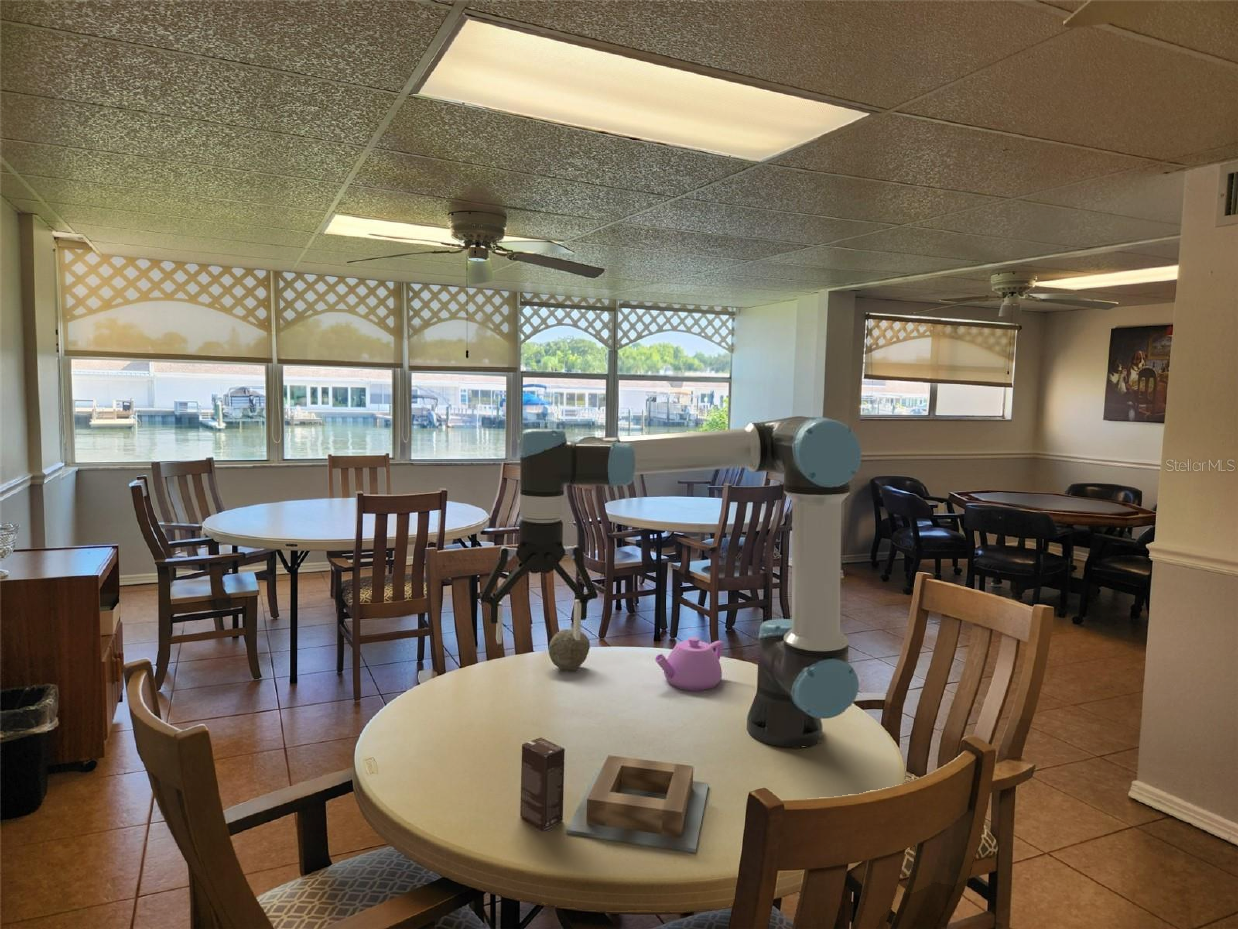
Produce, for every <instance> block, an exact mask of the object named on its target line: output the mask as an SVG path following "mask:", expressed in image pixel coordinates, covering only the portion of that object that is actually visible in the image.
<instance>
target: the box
mask: <svg viewBox="0 0 1238 929" xmlns="http://www.w3.org/2000/svg"><path fill="white" fill-rule="evenodd" d="M565 750H566V748H564V747H562V746H561V745H557V744H556V743H554V742H552V741H549V740H547V739H545V738H543V737H538V738H535V739H533V740H530V741H527V742H525V743H522V744H521V773H520V774H521V776H520V807H519V812H520V813H519V814H520V815H519V816H520V817H521V818H522V819H525V820H527V821H528V822H529V823H531V824H532V825H535V826H537V827H538V828H540V829H541V830H543V831H547V830H549V829H551V828H553V827H554V826H556V825H557V824H559V823H561V822H562V821H564V794H565V791H564V789H565V786H564V784H565V782H564V781H565Z"/></svg>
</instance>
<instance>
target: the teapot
mask: <svg viewBox="0 0 1238 929" xmlns="http://www.w3.org/2000/svg"><path fill="white" fill-rule="evenodd" d="M714 649H715V650H714ZM723 651H724V641H722V640H716V641H713V642H711V643H710V644H709V643H708V642H705V641H701V638H699V637H695V636H693V637H692V636H691V637H688V639H687V640H682V641H681V640H680V641H679V642H678V643H677V644H676V645H675V646H674V647H673V648H672V650H671V652H670V653H669V655H668V656H667V658H666V656H665V655H664V654H663V653H660V654H658V655H657V656H655V659H654V660H655V662H656V663H657V664H658V665H659V667H660V668H661V669H662V670H663V674H664V675H663V676H664V678H666V680H667V681H668V682H669V684H671V685H672V686H673V687H674V688H677V689H681V690H686V691H694V692H695V691H706V690H711V689H713V688H715V686H717V685H718V684H719V683H720V681H721V679H722V677H723V671H722V665H721V663H720V659H721V657H722V654H723Z"/></svg>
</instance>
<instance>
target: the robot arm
mask: <svg viewBox="0 0 1238 929" xmlns="http://www.w3.org/2000/svg"><path fill="white" fill-rule="evenodd" d="M567 439H568V438H567V437H566V432H565V431H564V430H563V429H557V428H555V429H554V428H552V429H551V428H528V429H525V431H524V432H522V435H521V445H520V446H521V448H520V463H519V466H520V469H519V471H520V472H519V476H520V478H519V481H520V482H519V516H520V517H521V519H520V520H519V522H518V524H519V525H518V545H517V547H516V548H515V547H507V546H506V545H501V546H500V547H499V552H498V559H497V561H496V562H495V564H494V567H493V568H492V570H491V572H490V574H489V576H488V577H487V580H486V581H485V584H484V586H483V587H482V589H481V592H480V593H479V598H480V602H482V603H485V604H486V603H487V604H489V620H490V622H491V624H495V626H496V628H495V629H496V630H495V639H496V644H497V645H500V644H502V643H503V642H502V641H503V603H502V602H501V601H502V600H503V599H504V597H505V596H507V594H508V593H509V592H510V591H511V590H512V588H513V587H514V586H515V585H516V584H517V583H518V581H519V580H520V579H521V578H522V577H523V576H525V574H526V573H527V572H528V573H531V574H539V573H542V574H543V573H544V574H550V573H551V572H553V571H555V572H556V573H557V574H558V576H560V578H561V579H562V580H563V582H564V583H566V585H567V586H568V588H570V590H571V591H572V592H573V593H574V595H575V596H576V597H577V598H578V599H574V600H573V628H572V629H573V636H574V638H575V639H576V640H580V632H582V631H581V624H582V622H581V621H586V619H587V618H588V616H587V615H588V614H587V613H588V603H589V601H590V600H594V599H597V598H598V596H599V595H598V592H597V589H596V587H595V586H594V583H593V581H592V579H591V577H590V575H589V573H588V570H587V569H586V566H585V564H584V562H583V560H582V550H581V548H580V547H579V546H578V544H573V545H572V546H569V547H567V546H566V547H564V544H563V539H564V522H563V520H561V519H562V518H563V517H564V503H565V501H564V500H565V498H564V497H565V496H564V495H565V485H567V486H568V485H569V486H575V485H576V486H577V485H579V486H582V485H583V486H602V487H603V486H605V487H607V486H608V487H617V486H618V487H619V486H622V487H623V486H629V485H631V484H632V483H633V480H634V478H635V475H645V474H647V475H648V474H663V473H664V474H665V473H678V472H694V471H709V470H710V471H711V470H724V469H725V470H726V469H739V468H746V469H747V470H748V471H749V472H751V473H756V472H769V473H776V474H782V475H783V493H784V494H785V495H786V496H787V497H788V498H789V499H790V501H791V503H792V507H791V508H792V510H791V511H792V513H791V514H792V519H791V522H792V524H791V527H792V530H791V532H792V533H791V534H792V536H791V537H792V538H791V542H792V544H791V546H792V547H791V548H792V549H791V552H792V553H791V558H792V561H791V562H792V564H791V567H792V568H791V570H792V572H791V574H792V576H791V579H792V582H791V588H792V589H791V619H790V618H788V619H787V618H780V619H779V618H778V619H775V618H774V619H769V620H766V621H763V622H762V623H761V624H760V626H759V632H758V633H759V634H758V637H757V640H758V653H757V654H758V655H757V676H756V677H757V679H756V682H757V683H756V693H755V695H754V697H753V700H752V704H751V705H750V708H749V710H748V713H747V718H746V730H747V732H748V734H750V735H751V736H752V737H753V738H754V739H756V740H758V741H760V742H762V743H765V744H767V745H772V746H776V747H780V746H781V748H788V747H801V748H803V747H802V746H808V747H810V745H812V746H814V745H816V744H818V743H819V742H820V741H821V740H822V739H821V738H823V722H822V719H823V720H825V719H833V718H835V717H838V716H840V715H842V714H843V713H845V711H846V710H847V709H849V707H852V705H853V704H854V702H855V700H856V698H857V696H858V692H859V689H860V688H859V687H860V684H859V683H860V682H859V678H858V675H857V673H856V671H855V669H854V668H853V666H852V665H851V664H850V663H849V639H848V638H847V637H846V636H845V634H843V632H842V631H841V562H842V561H841V557H842V556H841V550H842V549H841V548H842V547H841V546H842V542H841V541H842V502H843V501H844V500H845V499H846V498H847V497H848V496H849V495H850V494H851V480H852V479H853V477H854V476H855V475H856V473H858V471H859V469H860V466H861V462H862V456H863V455H862V447H861V444H860V440H859V438H858V436H857V435H856V434H855V432H854V431H853V430H852V429H851V428H850V427H849V426H847V425H846V423H843V422H842V421H839V420H835V419H833V418H829V417H823V416H819V417H817V416H803V415H801V416H789V417H784V418H779V419H773V420H768V421H761V422H749V423H747V424H746V425H745V426H744V427H743V428H735V429H734V428H732V429H720V430H719V429H718V430H717V429H716V430H715V429H714V430H702V431H701V430H700V431H699V430H698V431H685V432H684V431H683V432H668V433H667V432H666V433H647V434H636V435H635V434H633V435H618V436H602V437H597V436H585V437H582V438H581V439H579V440H578V441H571V440H567ZM565 555H567V557H568V558H569V559H570V560H572V561H573V563H574V565H575V568H576V569H577V572H578V574H579V576H580V578H581V580H582V582H583V584H584V587H585V588H586V591H585V592H584V591H583V590H582V589H581V588H580V587H579V586H578V584H577V582H576V581H574V580H573V578H572V577H571V576H570V575H569V574H568V572H567V571H566V570H565V569H564V567H562V565H561V564H560V562H561V561H562V560H563V558H564V557H565ZM514 556H516V557H517V559H518V560H519V563H518V564H517V565H516V566H515V567H514V570H512V572H510V574H509V575H508V576H507V577H506V578H505V579H504V581H503V582H502V583H501V584H500V585H499V587H498V588H497V589H496V590H495V591H494V592H493V590H494V588H495V586H496V585H497V582H498V581H499V579H500V578H501V576H502V574H503V572H504V569H505V568H506V566H507V563H508V561H511V560H512V559H513V557H514ZM492 592H493V593H492ZM820 739H821V740H820ZM819 740H820V741H819ZM818 741H819V742H818ZM817 742H818V743H817ZM815 743H816V744H815ZM813 744H814V745H813Z"/></svg>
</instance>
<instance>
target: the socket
mask: <svg viewBox="0 0 1238 929" xmlns="http://www.w3.org/2000/svg"><path fill="white" fill-rule="evenodd" d="M592 776H593V777H592V778H591V780H590V782H589V784H588V786H587V788H586V790H585V793H584V794H583V796H582V798H581V800H580V803H579V805H578V806H577V809H576V810H575V812H574V815H573V816H572V818H571V820H570V822H569V825H568V826H567V828H566V834H567V835H572V836H573V835H575V836H581V837H588V838H594V839H600V840H608V841H613V842H614V841H615V842H620V843H621V842H622V843H627V844H628V843H629V844H633V845H634V844H635V845H641V846H648V847H655V848H662V849H669V850H673V851H681V852H689V853H694V854H696V853H697V847H698V844H699V843H698V842H699V838H700V831H701V826H702V823H703V822H702V821H703V816H704V811H705V806H706V800H707V795H708V790H709V782H706V781H705V782H703V781H694V765H690V764H689V765H687V764H680V763H673V762H665V761H656V760H648V759H643V758H642V759H641V758H633V757H626V756H625V757H624V756H619V755H618V756H617V755H611V754H610V755H609V754H608V756H607V757H606V760H605V761H604V763H603V766H602V767H601V768H597V769H596V771H595V773H594V775H592Z"/></svg>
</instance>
